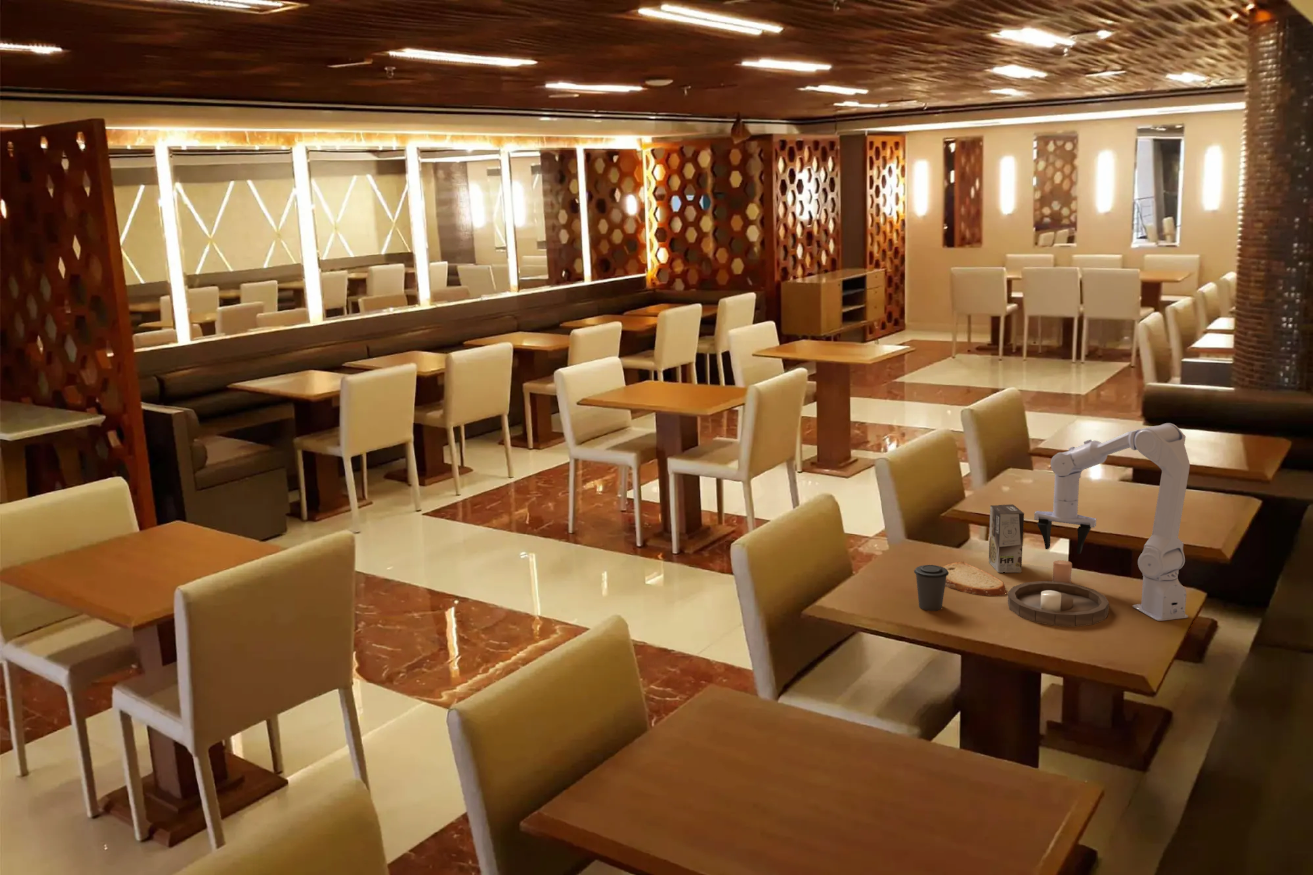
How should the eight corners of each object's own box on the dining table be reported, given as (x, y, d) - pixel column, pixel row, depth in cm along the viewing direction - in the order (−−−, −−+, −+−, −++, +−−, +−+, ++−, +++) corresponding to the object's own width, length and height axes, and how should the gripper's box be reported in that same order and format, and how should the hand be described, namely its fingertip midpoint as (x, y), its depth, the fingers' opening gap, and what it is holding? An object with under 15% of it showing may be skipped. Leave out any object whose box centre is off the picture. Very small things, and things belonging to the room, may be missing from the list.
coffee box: (1022, 572, 278) (1025, 513, 274) (997, 573, 278) (999, 513, 274) (1011, 561, 287) (1014, 503, 283) (987, 561, 287) (989, 504, 283)
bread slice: (1008, 598, 261) (1008, 583, 261) (932, 594, 266) (932, 579, 265) (1003, 573, 278) (1003, 560, 278) (932, 570, 283) (932, 557, 282)
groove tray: (1127, 620, 244) (1127, 609, 244) (1039, 630, 240) (1040, 618, 240) (1072, 588, 265) (1073, 577, 265) (991, 596, 261) (991, 586, 261)
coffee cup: (948, 613, 252) (950, 573, 250) (913, 612, 253) (914, 572, 251) (946, 601, 259) (947, 562, 257) (912, 600, 261) (913, 561, 259)
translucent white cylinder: (1048, 618, 245) (1049, 598, 244) (1036, 612, 249) (1037, 591, 248) (1064, 615, 246) (1065, 595, 245) (1051, 609, 250) (1052, 589, 249)
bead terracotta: (1074, 583, 268) (1075, 565, 267) (1058, 585, 268) (1059, 566, 267) (1064, 578, 273) (1065, 559, 272) (1049, 579, 272) (1049, 561, 271)
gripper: (1100, 498, 265) (1097, 550, 268) (1040, 491, 273) (1038, 541, 276) (1093, 505, 259) (1090, 558, 262) (1032, 497, 267) (1030, 549, 270)
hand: (1063, 550), depth 268 cm, fingers open, 7 cm apart
